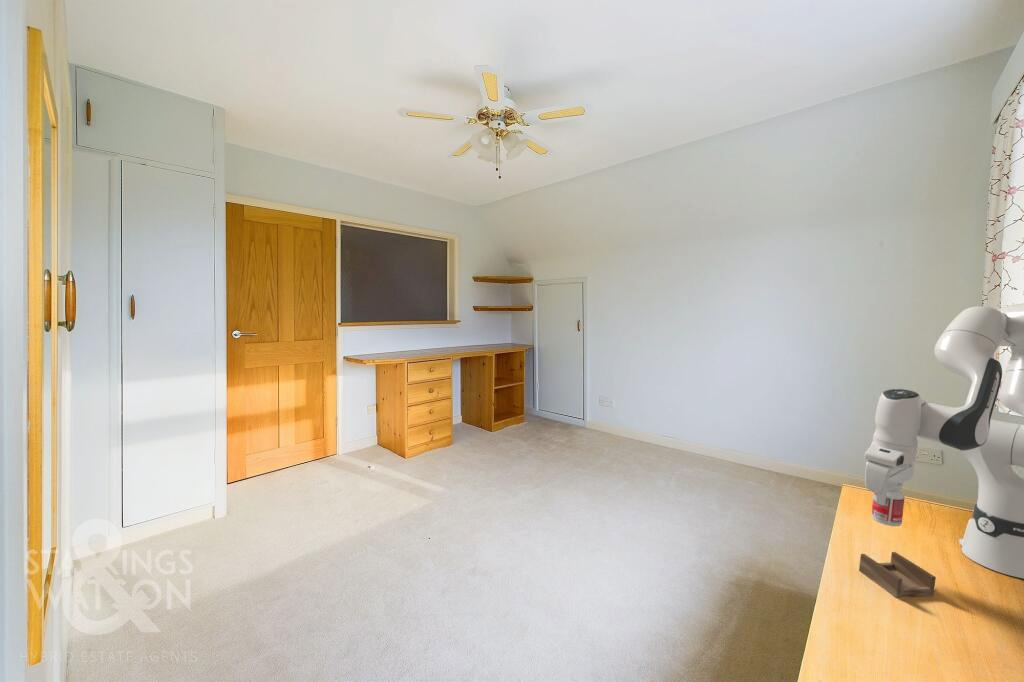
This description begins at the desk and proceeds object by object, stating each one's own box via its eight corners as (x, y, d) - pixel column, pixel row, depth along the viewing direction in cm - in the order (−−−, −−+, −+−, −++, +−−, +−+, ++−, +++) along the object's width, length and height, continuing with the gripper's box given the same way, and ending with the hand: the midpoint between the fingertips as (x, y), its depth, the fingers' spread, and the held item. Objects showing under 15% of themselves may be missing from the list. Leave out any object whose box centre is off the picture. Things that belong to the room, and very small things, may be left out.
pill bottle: (898, 519, 115) (903, 480, 113) (903, 529, 110) (908, 489, 108) (869, 512, 118) (873, 475, 117) (872, 522, 113) (877, 483, 112)
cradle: (893, 568, 113) (895, 551, 113) (933, 595, 103) (935, 577, 103) (858, 570, 112) (860, 553, 112) (896, 597, 103) (898, 579, 102)
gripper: (894, 440, 119) (889, 487, 121) (861, 454, 109) (856, 504, 111) (924, 447, 114) (918, 496, 116) (892, 462, 104) (886, 515, 105)
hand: (887, 500), depth 113 cm, fingers closed on pill bottle, 6 cm apart
